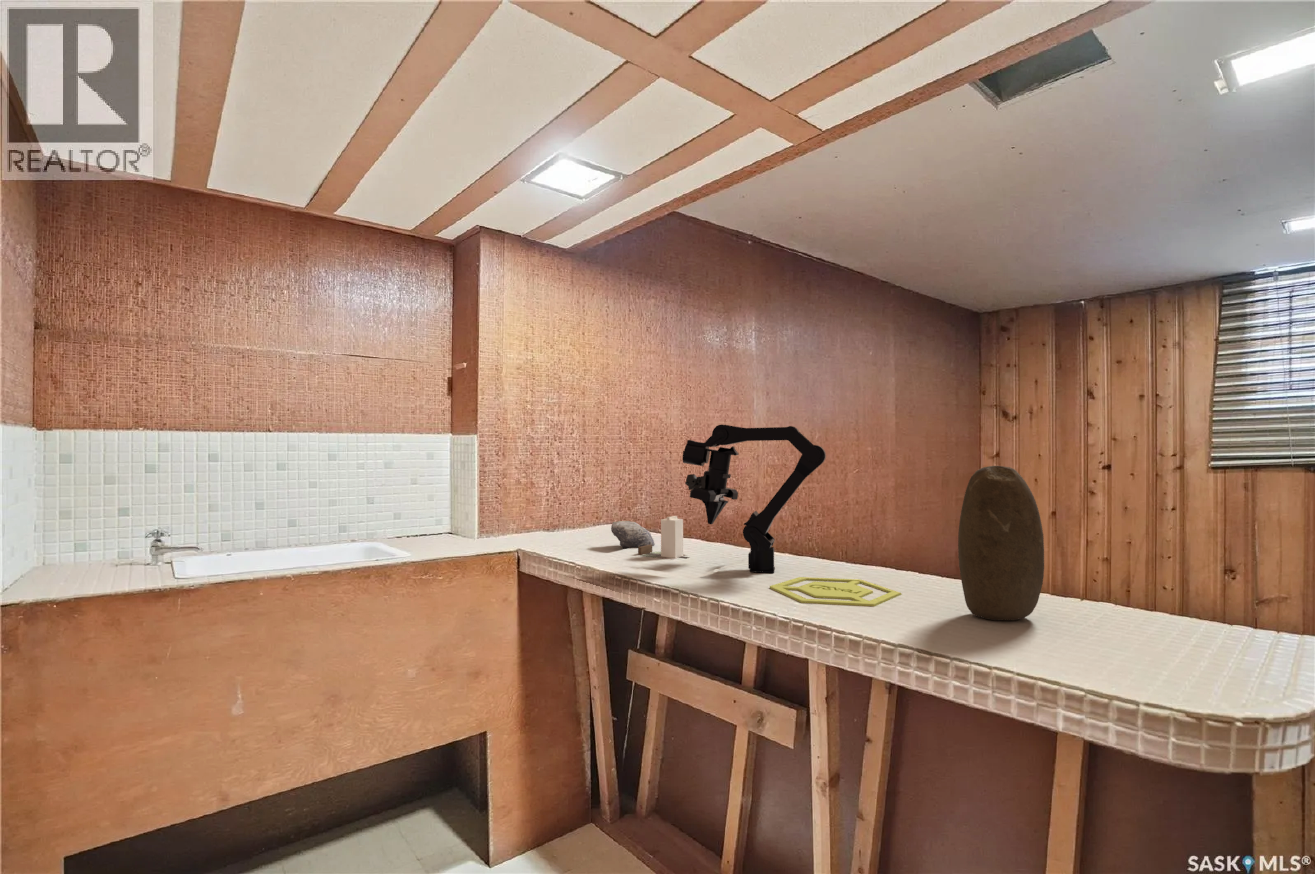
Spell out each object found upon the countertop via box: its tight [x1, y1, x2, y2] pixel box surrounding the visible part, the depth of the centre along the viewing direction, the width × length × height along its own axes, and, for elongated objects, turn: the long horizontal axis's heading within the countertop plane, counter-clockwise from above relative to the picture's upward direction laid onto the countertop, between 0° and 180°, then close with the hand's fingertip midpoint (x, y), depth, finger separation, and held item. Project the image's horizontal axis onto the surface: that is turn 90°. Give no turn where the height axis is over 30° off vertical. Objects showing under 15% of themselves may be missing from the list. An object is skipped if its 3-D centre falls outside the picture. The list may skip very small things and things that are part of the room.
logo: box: [769, 576, 903, 608], centre depth 148 cm, size 26×1×30 cm
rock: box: [610, 520, 656, 550], centre depth 212 cm, size 11×17×10 cm, turn 40°
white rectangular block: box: [660, 515, 684, 559], centre depth 188 cm, size 5×4×12 cm
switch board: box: [637, 545, 691, 561], centre depth 190 cm, size 17×10×4 cm, turn 57°
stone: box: [957, 465, 1045, 621], centre depth 125 cm, size 13×15×30 cm
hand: (710, 523), depth 177 cm, fingers closed
